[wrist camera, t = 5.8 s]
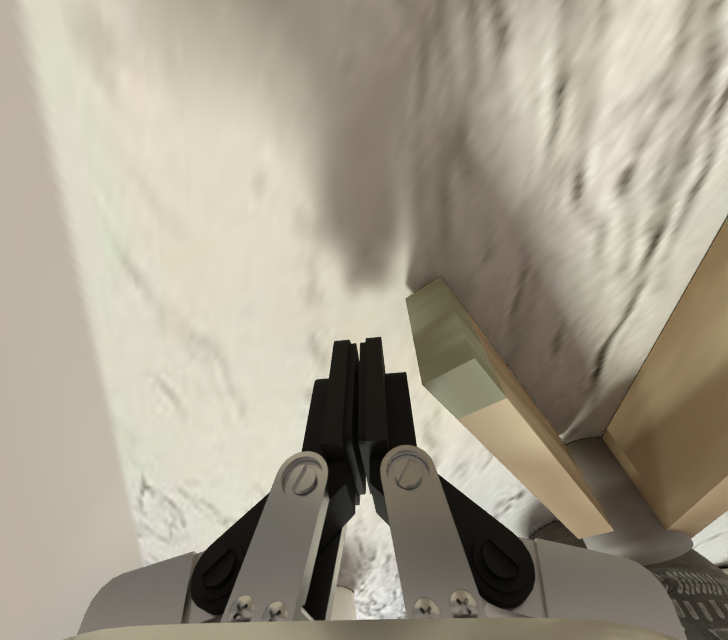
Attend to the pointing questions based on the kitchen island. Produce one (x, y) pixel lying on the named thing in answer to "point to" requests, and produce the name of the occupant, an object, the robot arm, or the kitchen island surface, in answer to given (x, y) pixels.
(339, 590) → the cup
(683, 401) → the tongs base
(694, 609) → the planter
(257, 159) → the kitchen island surface
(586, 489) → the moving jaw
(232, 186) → the kitchen island surface
